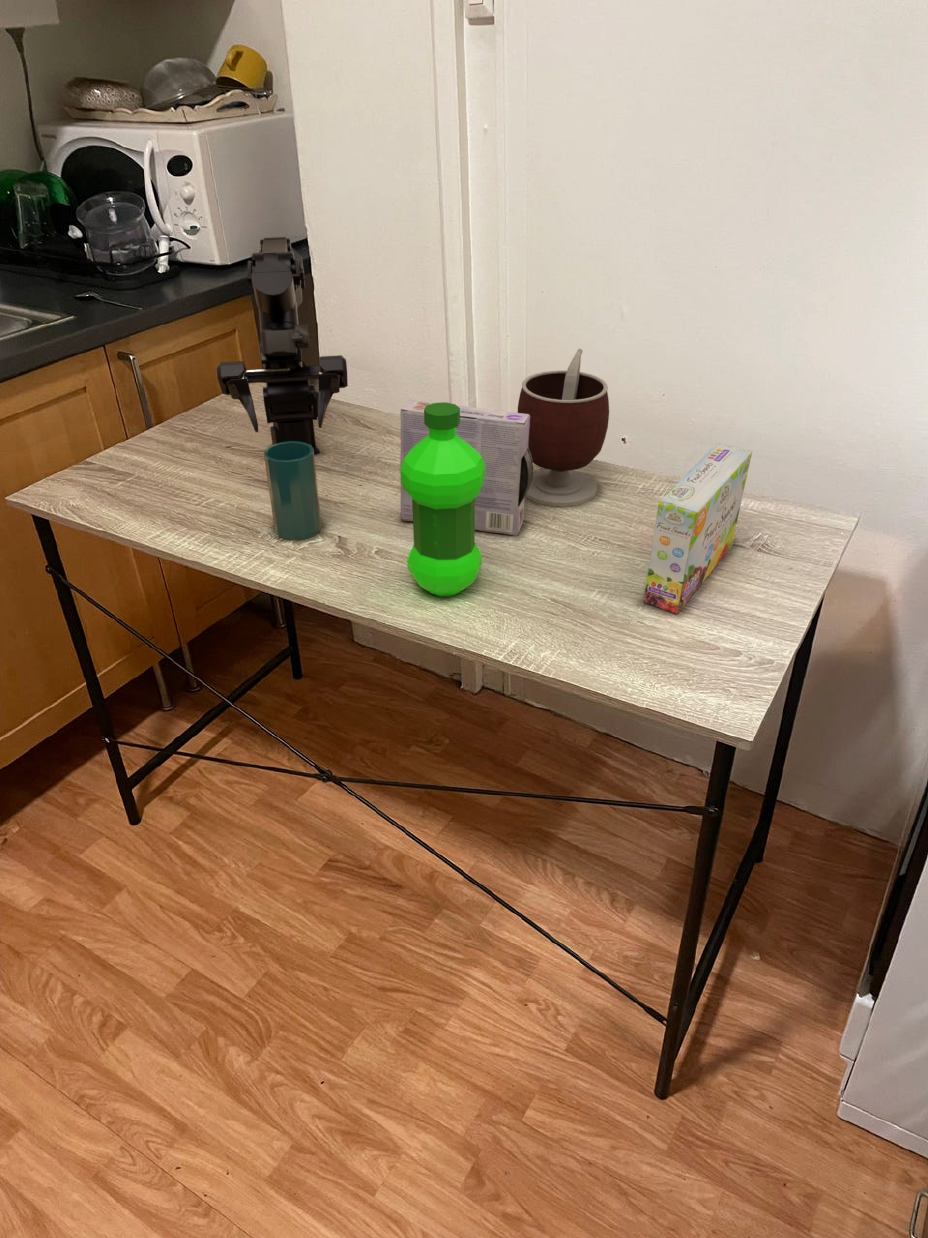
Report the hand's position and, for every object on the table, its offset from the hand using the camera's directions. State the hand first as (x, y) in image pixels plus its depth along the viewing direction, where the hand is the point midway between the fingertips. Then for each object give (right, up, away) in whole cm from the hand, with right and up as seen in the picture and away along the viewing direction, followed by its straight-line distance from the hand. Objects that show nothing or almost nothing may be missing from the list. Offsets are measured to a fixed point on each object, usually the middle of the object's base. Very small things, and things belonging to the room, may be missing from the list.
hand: (288, 429), depth 135 cm
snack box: (+57, -22, -9) cm, 62 cm away
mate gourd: (+41, -7, +13) cm, 44 cm away
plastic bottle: (+23, -24, -11) cm, 35 cm away
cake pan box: (+26, -14, +3) cm, 30 cm away
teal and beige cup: (+1, -15, +2) cm, 15 cm away
